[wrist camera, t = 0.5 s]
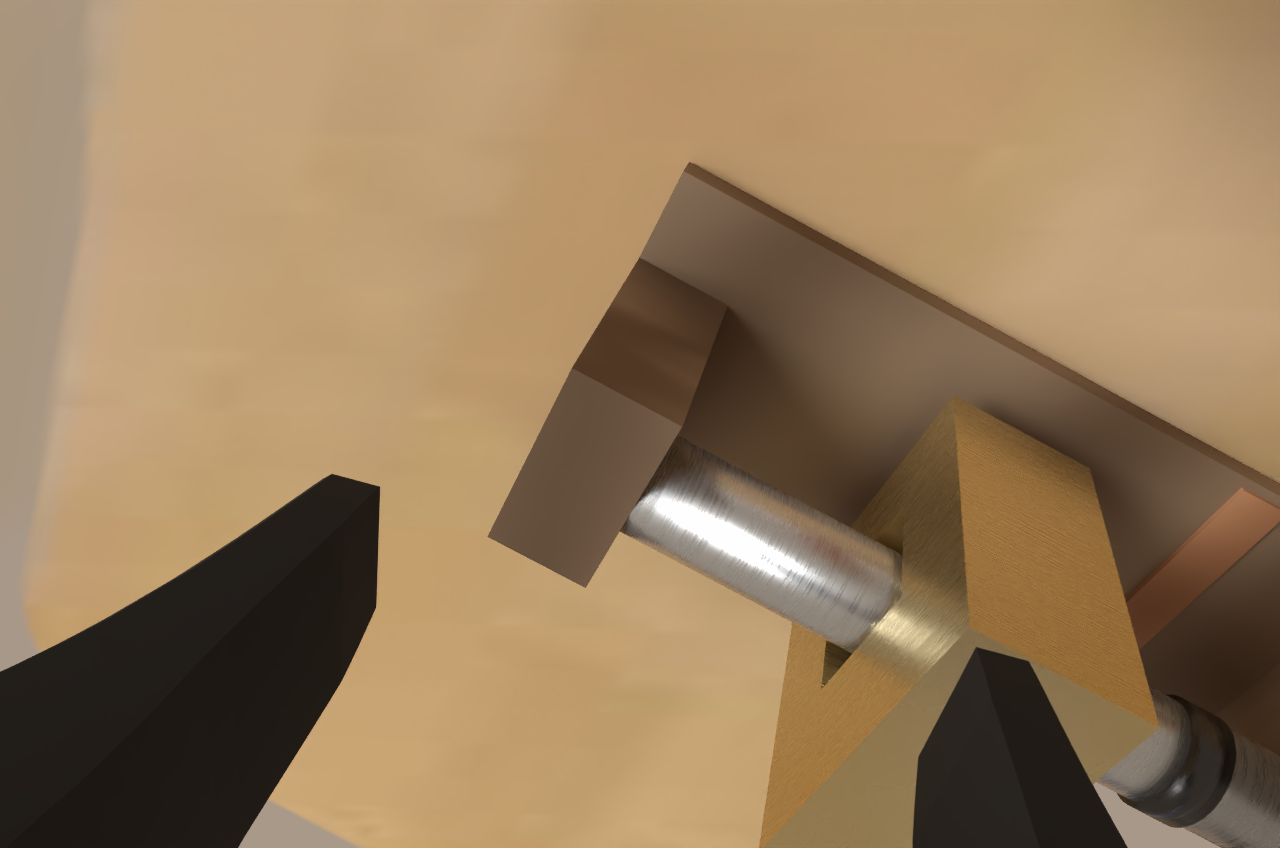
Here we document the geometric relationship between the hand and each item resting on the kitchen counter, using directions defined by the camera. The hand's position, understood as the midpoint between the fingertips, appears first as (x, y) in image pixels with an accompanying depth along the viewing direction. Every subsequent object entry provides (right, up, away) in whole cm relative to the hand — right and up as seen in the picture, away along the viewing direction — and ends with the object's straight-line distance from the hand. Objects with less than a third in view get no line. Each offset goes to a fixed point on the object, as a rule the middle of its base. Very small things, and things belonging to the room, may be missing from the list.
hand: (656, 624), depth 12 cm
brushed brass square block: (+6, 0, +9) cm, 11 cm away
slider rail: (+7, 0, +10) cm, 12 cm away
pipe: (+6, -1, +7) cm, 10 cm away
